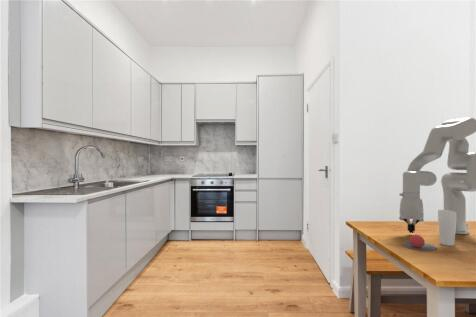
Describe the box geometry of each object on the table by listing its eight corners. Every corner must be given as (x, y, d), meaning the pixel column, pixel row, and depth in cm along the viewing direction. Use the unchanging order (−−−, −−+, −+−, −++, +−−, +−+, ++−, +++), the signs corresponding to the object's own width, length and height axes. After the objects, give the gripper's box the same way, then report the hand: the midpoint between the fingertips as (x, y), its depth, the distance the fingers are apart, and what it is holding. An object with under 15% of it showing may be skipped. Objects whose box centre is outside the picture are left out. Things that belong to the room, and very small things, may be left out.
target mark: (413, 241, 138) (413, 240, 138) (443, 248, 126) (443, 247, 126) (395, 244, 132) (395, 243, 132) (425, 252, 120) (425, 251, 120)
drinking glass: (459, 247, 128) (459, 212, 129) (442, 246, 130) (442, 211, 130) (451, 243, 135) (451, 210, 135) (435, 242, 136) (435, 209, 137)
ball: (416, 245, 123) (415, 252, 126) (428, 239, 123) (427, 247, 126) (406, 235, 127) (406, 243, 130) (418, 230, 127) (417, 238, 131)
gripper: (395, 195, 149) (395, 232, 149) (430, 197, 144) (430, 235, 143) (393, 194, 156) (393, 229, 156) (426, 195, 151) (427, 232, 150)
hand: (411, 232), depth 150 cm, fingers closed
